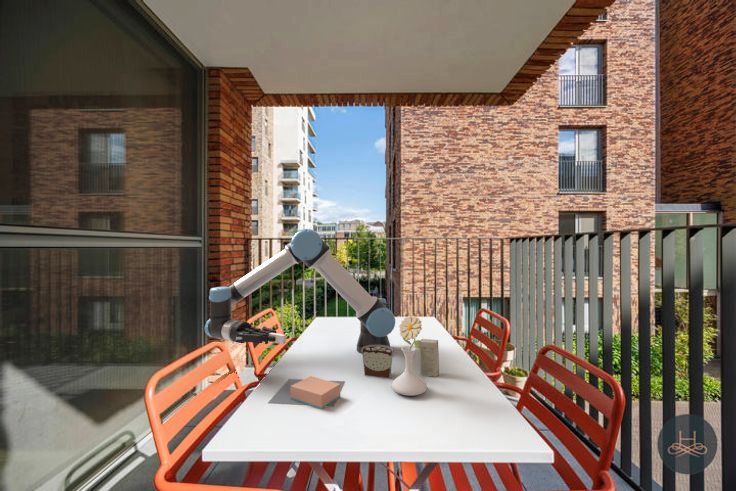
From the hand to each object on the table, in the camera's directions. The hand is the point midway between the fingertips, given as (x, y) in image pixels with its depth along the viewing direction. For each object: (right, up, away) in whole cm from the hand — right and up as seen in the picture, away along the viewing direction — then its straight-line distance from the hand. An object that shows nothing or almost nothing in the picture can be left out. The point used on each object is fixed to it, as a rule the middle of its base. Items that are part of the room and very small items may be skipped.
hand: (284, 339), depth 111 cm
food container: (+32, -16, +12) cm, 37 cm away
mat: (+9, -16, -4) cm, 19 cm away
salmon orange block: (+7, -13, -6) cm, 16 cm away
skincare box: (+50, -16, +11) cm, 54 cm away
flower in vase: (+41, -16, -4) cm, 44 cm away
